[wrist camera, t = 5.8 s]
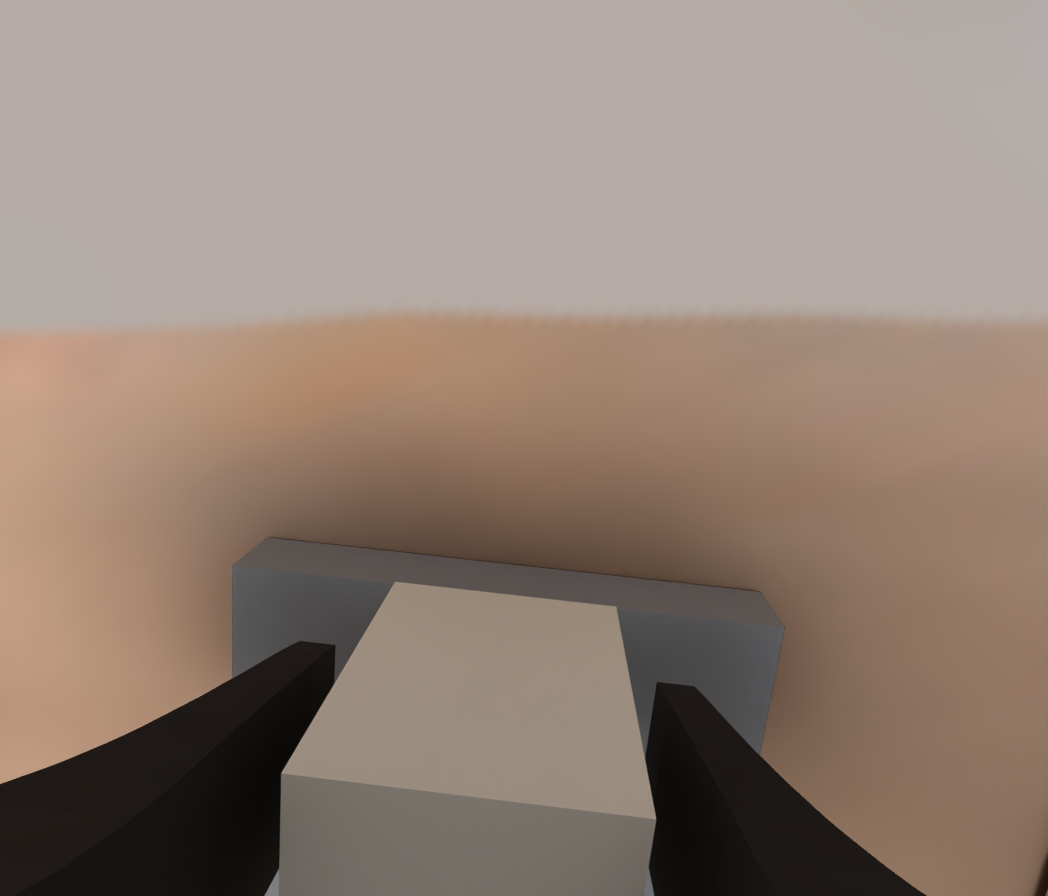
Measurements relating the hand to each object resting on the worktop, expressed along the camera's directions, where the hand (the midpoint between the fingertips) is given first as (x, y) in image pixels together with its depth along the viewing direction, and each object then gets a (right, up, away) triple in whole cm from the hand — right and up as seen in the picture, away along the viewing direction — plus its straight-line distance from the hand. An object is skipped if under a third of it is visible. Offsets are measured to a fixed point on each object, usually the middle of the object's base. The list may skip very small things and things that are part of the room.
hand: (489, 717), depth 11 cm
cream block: (0, -4, +2) cm, 4 cm away
